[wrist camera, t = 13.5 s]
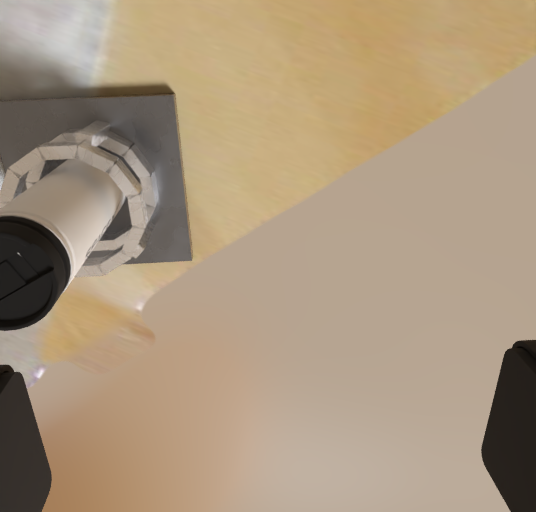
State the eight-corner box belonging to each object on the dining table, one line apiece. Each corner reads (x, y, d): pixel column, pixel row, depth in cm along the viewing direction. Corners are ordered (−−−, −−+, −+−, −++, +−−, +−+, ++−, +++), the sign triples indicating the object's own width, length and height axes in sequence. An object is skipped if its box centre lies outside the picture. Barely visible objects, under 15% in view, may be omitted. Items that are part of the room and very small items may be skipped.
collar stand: (-8, 101, 42) (-64, 116, 34) (175, 93, 43) (160, 106, 35) (36, 264, 49) (-3, 307, 41) (192, 255, 49) (184, 297, 42)
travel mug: (42, 174, 44) (-97, 273, 26) (100, 138, 43) (-1, 215, 25) (84, 229, 46) (-15, 355, 28) (141, 196, 45) (76, 305, 27)
